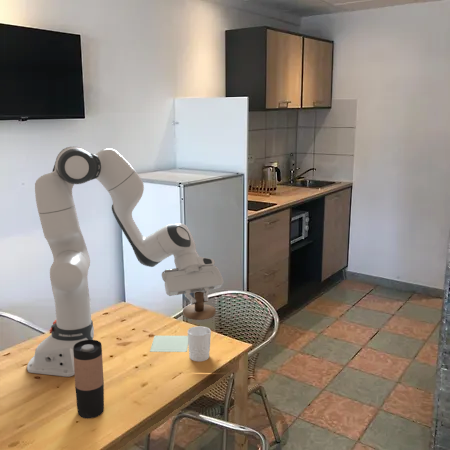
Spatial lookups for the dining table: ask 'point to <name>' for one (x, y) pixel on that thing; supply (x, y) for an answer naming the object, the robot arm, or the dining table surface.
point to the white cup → (199, 343)
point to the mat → (169, 344)
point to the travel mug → (89, 378)
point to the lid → (199, 309)
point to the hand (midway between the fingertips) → (200, 302)
